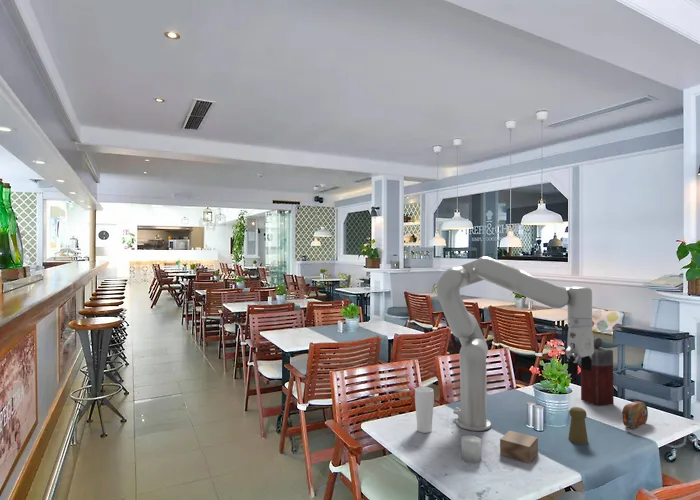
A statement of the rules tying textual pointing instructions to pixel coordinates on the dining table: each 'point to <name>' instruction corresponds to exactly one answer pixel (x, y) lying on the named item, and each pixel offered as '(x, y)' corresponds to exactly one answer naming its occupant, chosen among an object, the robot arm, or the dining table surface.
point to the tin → (635, 414)
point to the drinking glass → (424, 408)
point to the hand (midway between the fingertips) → (579, 371)
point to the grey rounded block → (471, 449)
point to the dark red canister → (598, 377)
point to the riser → (519, 446)
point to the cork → (578, 426)
